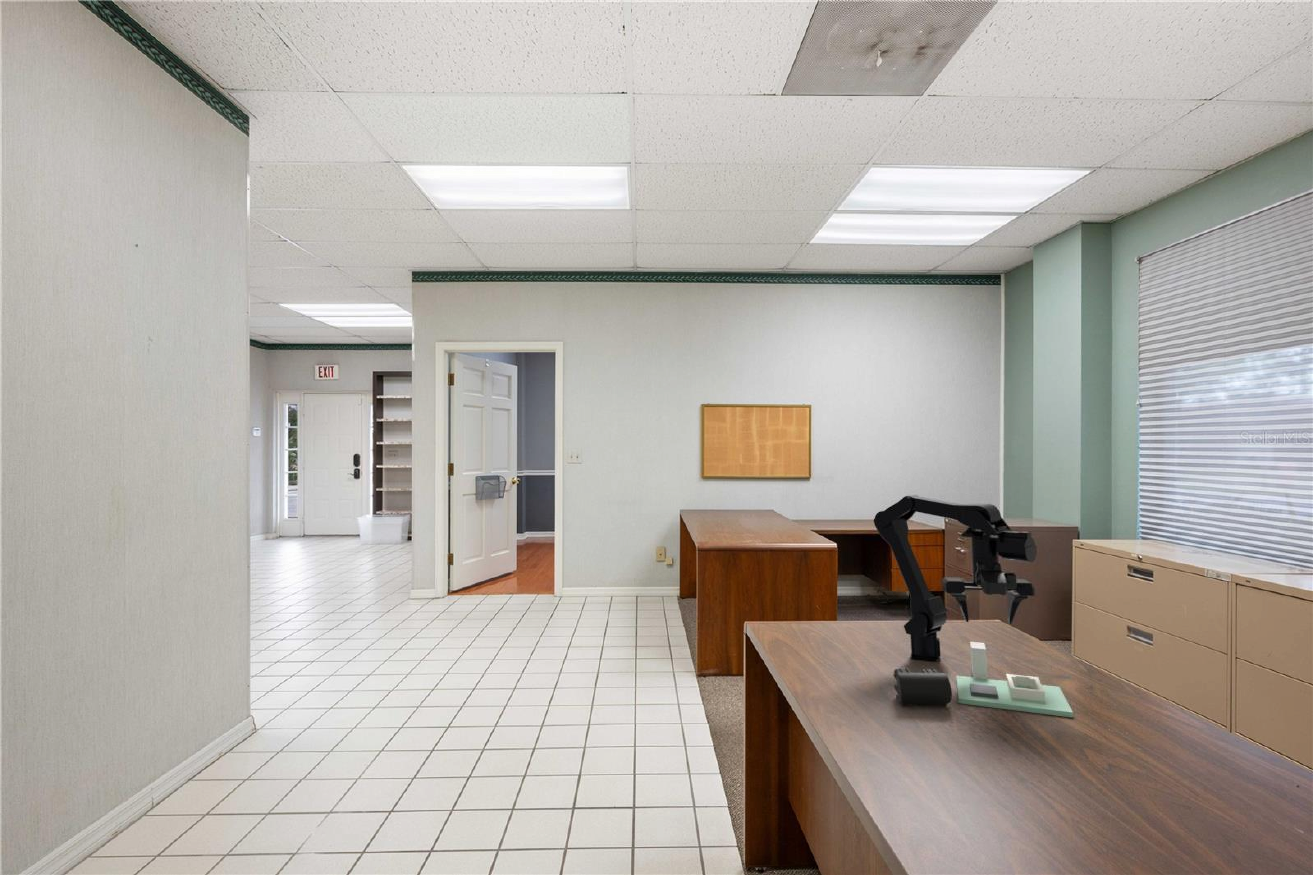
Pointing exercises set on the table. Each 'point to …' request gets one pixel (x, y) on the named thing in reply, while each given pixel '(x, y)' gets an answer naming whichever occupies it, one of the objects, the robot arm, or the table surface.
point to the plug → (978, 660)
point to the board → (1014, 695)
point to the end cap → (922, 688)
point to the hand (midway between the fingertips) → (988, 622)
